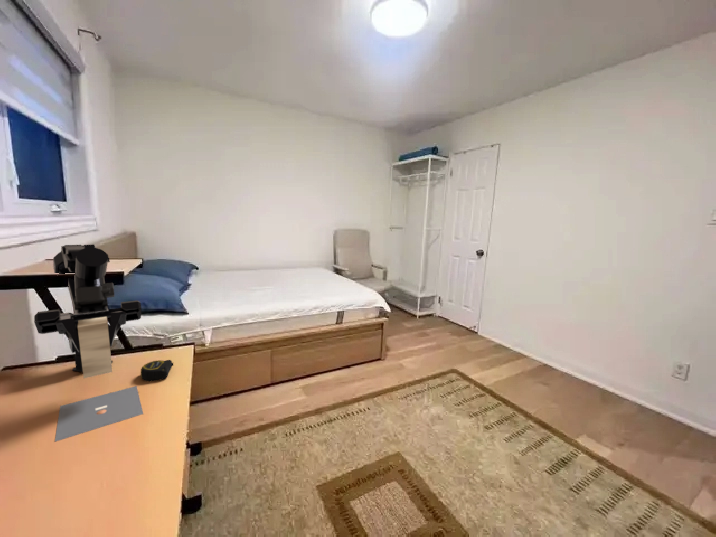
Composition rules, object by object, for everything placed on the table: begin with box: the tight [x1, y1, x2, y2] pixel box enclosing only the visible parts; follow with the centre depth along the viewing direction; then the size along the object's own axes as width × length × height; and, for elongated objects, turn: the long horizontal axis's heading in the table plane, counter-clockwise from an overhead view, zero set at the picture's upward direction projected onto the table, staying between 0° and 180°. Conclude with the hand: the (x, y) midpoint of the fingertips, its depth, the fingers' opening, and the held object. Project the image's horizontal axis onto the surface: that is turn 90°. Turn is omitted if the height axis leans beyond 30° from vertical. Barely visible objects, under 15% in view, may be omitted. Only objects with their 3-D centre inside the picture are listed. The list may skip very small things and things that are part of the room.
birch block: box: [78, 317, 113, 379], centre depth 71 cm, size 5×5×12 cm
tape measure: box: [140, 359, 174, 382], centre depth 84 cm, size 7×7×4 cm
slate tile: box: [54, 385, 144, 442], centre depth 69 cm, size 14×14×1 cm
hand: (95, 348), depth 70 cm, fingers closed on birch block, 5 cm apart
